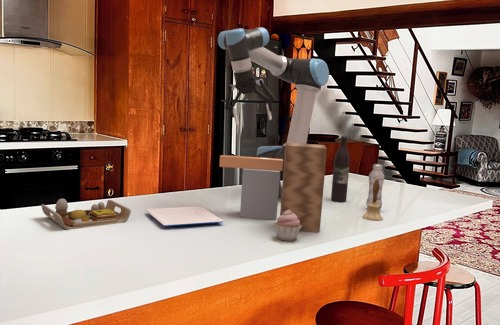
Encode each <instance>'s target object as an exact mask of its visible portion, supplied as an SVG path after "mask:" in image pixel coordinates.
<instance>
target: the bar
mask: <svg viewBox="0 0 500 325" xmlns="http://www.w3.org/2000/svg"><path fill="white" fill-rule="evenodd" d="M219 167H220V168H231V169H233V168H234V169H243V168H246V169H261V170H276V171H282V167H283V159H273V158H258V157H257V156H256V157H255V156H242V155H240V156H239V155H228V154H227V155H226V154H225V155H224V154H223V155H222V154H221V155H219Z"/></svg>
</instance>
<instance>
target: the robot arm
mask: <svg viewBox="0 0 500 325" xmlns="http://www.w3.org/2000/svg"><path fill="white" fill-rule="evenodd" d="M269 34H270V33H269V32H268V30H267V29H266V28H265V27H255V28H253V29H244V28H235V29H231V30H230V29H229V30H224V31H221V32H220V33H219V34H218V36H217V44H218V46H219V47H220V48H221V49H223V50H227V51H228V54H229V59H230V64H231V67H232V71H233V77H234V82H235V84H231V83H230V84H229V85H228V94H227V98H226V102H225V105H224V109H225V110H229V112H230V115H231V118H232V119H234V123H235V125H236V126H237V127H238V126H239V125H240V122H239V117H238V112H237V108H235V106H236V104H237V103H238V100H239V99H240V97H241V95H247V94H252V93H254V94H256V95H257V96H258V97H259V98H260V99H262V100H263V101H265V103H266V104H265V106H266V110H267V116H268V121H271V120H272V117H273V116H272V111H273V102H275V100H276V97H275V96H274V94H273V93H272V91H271V90H270V89H269V88H268V86H266V84H265V82H264V79H263V78H260V79H258V80H256V78H255V76H254V70H253V69H252V66H253V65H252V62H253V63H254V64H257V65H259V66H260V67H262V68H264V69H266V70H269V71H270V73H271V75H273V76H275V77H276V78H278V79H281V80H282V81H285V82H287V83H289V84H291V85H292V84H293V85H294V87H295V89H296V97H295V100H294V101H295V102H294V105H293V106H294V107H293V112H292V115H291V120H290V126H289V130H288V135H287V140H286V142H285V143H299V144H307V142H308V137H309V136H308V135H309V132H310V127H311V122H312V117H313V113H314V112H313V111H314V107H315V106H314V105H315V102H316V97H317V94H319V93H320V92H321V89H322V87H324V86H325V85H327V83H328V82H329V78H330V71H329V67H328V64H327V63H326V61H324V60H323V59H320V58H290V57H286V56H284V55H278V54H276V53H275V52H272V51H271V50H269V49H268V48H265V47H264V46H267V45H268V44H269V41H270V35H269ZM257 85H258V86H260V87H261V89H262V90H263V91H264V93H265V94H264V93H263V92H262V91H261V90H260V89H258V87H256V86H257ZM235 89H236V90H237V91H238V92H237V94H236V96H235V97H234V99H233V101H232V103H231V100H232V96H233V91H234V90H235ZM230 104H231V105H230ZM285 143H284V144H282V145H264V146H259V147H258V148H257V151H256V157H258V158H273V159H283V167H282V171H280V176H282V177H283V169H284V156H285ZM281 196H282V182H281V178H280V179H279V193H278V198H281Z"/></svg>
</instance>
